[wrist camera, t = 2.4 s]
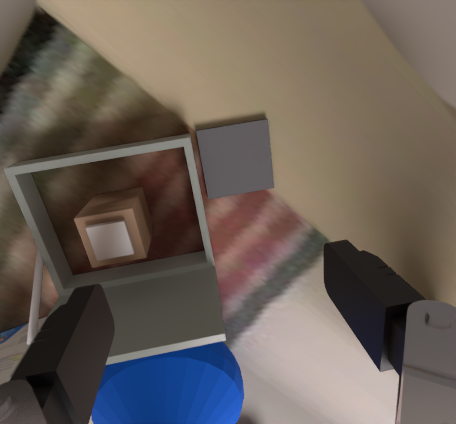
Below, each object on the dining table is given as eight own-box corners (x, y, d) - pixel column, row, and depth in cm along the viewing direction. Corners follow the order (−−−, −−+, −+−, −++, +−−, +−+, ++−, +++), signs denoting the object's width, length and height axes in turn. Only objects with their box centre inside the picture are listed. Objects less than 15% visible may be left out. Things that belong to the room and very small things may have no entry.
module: (142, 186, 36) (131, 210, 29) (153, 228, 38) (145, 260, 31) (94, 194, 35) (71, 220, 28) (108, 236, 37) (90, 270, 31)
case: (189, 133, 34) (190, 160, 21) (214, 260, 40) (226, 340, 27) (10, 163, 33) (-104, 211, 20) (64, 288, 39) (3, 386, 26)
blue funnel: (251, 308, 44) (293, 455, 26) (215, 398, 50) (229, 567, 32) (120, 285, 40) (67, 439, 22) (98, 385, 46) (41, 570, 28)
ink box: (17, 357, 42) (-63, 483, 29) (-4, 332, 40) (-101, 454, 27) (75, 337, 42) (22, 454, 29) (57, 311, 40) (-10, 423, 27)
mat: (266, 118, 34) (267, 119, 34) (272, 186, 37) (274, 187, 37) (195, 130, 34) (195, 131, 33) (208, 197, 37) (208, 199, 36)
